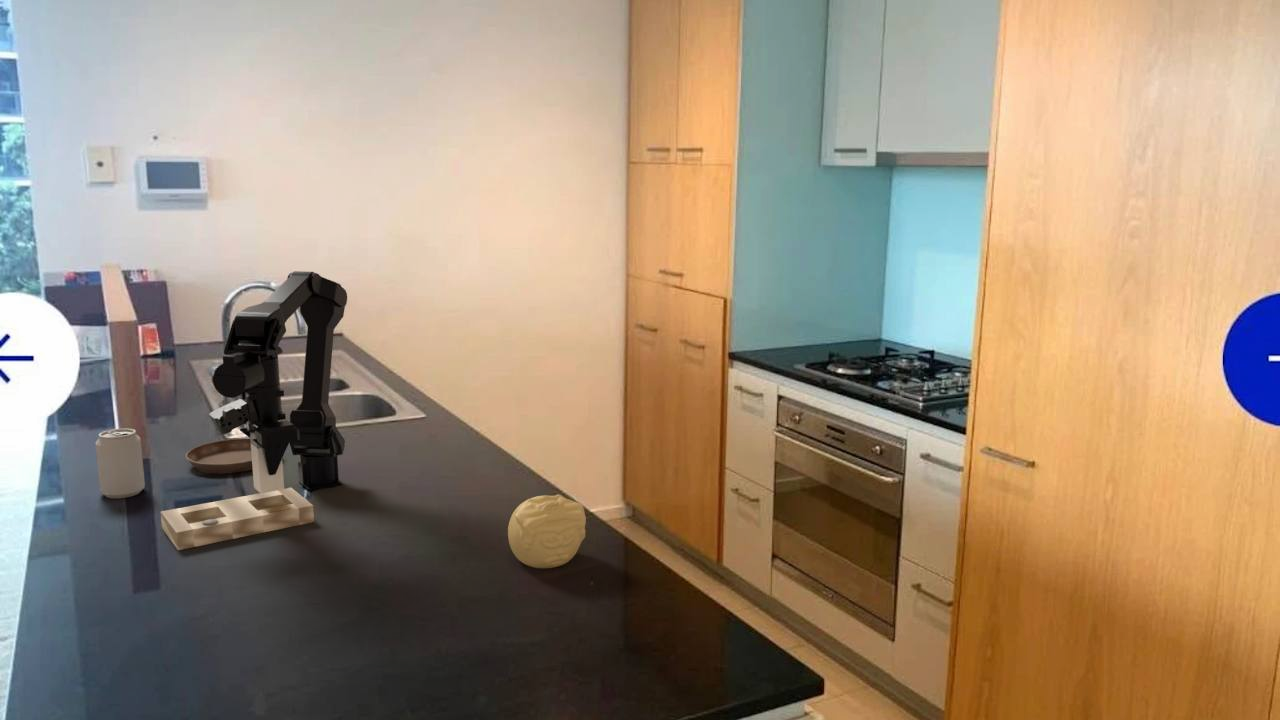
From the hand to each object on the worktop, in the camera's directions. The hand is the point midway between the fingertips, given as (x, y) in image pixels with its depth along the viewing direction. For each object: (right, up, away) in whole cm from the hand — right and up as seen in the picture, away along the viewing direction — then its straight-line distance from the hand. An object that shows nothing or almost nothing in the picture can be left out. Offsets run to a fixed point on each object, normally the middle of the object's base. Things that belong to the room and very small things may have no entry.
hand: (268, 471), depth 172 cm
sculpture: (+50, -12, -16) cm, 54 cm away
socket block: (-4, -9, -2) cm, 10 cm away
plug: (0, -3, +1) cm, 3 cm away
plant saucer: (-20, -2, +34) cm, 39 cm away
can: (-33, -6, +14) cm, 36 cm away
